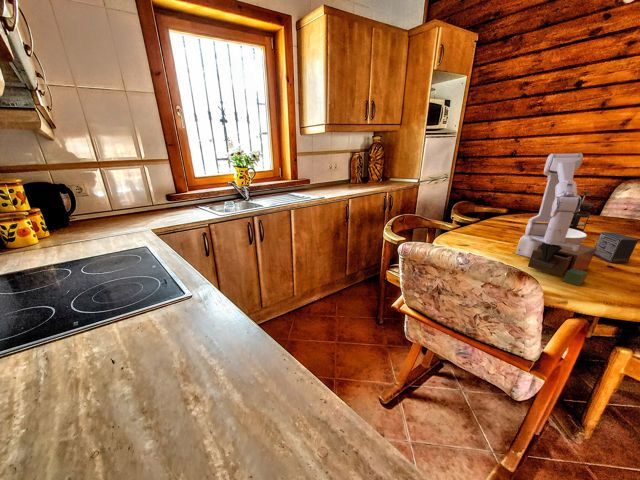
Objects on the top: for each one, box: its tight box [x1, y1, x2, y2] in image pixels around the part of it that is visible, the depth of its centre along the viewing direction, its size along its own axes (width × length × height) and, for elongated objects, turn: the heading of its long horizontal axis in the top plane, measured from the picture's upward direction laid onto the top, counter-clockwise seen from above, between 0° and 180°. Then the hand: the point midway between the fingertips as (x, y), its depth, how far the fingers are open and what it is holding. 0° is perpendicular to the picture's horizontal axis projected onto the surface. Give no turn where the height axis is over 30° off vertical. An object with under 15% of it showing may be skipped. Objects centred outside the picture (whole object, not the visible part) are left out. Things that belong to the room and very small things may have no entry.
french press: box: [569, 190, 595, 233], centre depth 146 cm, size 12×9×23 cm
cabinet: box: [537, 241, 596, 276], centre depth 114 cm, size 15×13×9 cm
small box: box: [593, 231, 639, 264], centre depth 119 cm, size 11×6×10 cm, turn 168°
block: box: [562, 268, 589, 286], centre depth 103 cm, size 4×4×4 cm
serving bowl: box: [564, 228, 588, 245], centre depth 138 cm, size 21×21×7 cm
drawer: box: [527, 250, 574, 278], centre depth 111 cm, size 18×11×7 cm, turn 115°
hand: (545, 262), depth 108 cm, fingers closed, pressing on drawer
